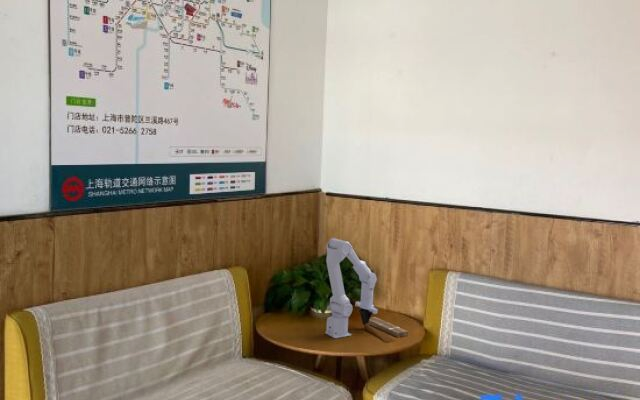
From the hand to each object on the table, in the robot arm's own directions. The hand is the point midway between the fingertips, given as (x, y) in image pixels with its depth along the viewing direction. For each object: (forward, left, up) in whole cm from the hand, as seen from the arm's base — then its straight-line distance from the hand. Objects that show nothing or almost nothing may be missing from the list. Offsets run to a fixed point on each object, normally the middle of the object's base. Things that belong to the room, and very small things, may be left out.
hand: (365, 324), depth 273 cm
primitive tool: (0, -11, -3) cm, 11 cm away
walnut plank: (+9, -4, -2) cm, 10 cm away
